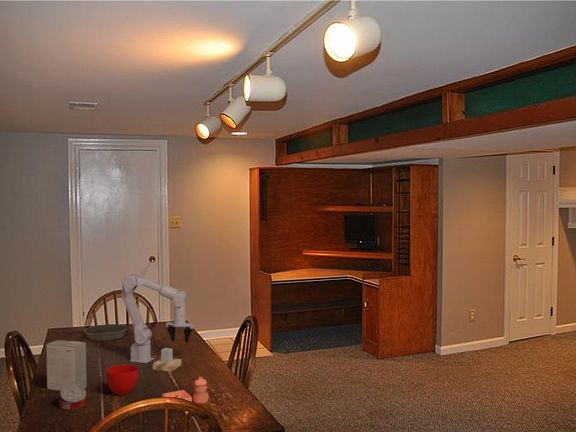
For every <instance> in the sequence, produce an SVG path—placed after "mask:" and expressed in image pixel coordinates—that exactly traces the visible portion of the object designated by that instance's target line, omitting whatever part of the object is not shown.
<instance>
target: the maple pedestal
mask: <svg viewBox="0 0 576 432" xmlns="http://www.w3.org/2000/svg"><path fill="white" fill-rule="evenodd" d="M180 367H182V359H181V358H173V361H171V362H170V363H163V362H161V358H160V359H158V360H156V361H154V362H153V363H152V370H154V371H164V372H173V371H175V370H176V369H178V368H180Z"/></svg>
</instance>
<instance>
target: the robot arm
mask: <svg viewBox="0 0 576 432" xmlns="http://www.w3.org/2000/svg"><path fill="white" fill-rule="evenodd" d="M121 285H122V286H121V291H120V292H121V298H122V301H123V303H124V306H125V309H126V311H127V313H128V316H129V318H130V321H131V323H132V325H133V334H134V342H133V343H132V344H131V346H130V360H129V361H130V362H131V363H133V362H134V363H142V364H147V363H150V362H151V361H153V360H154V359H155V357H152V354H151V353H152V351H151V350H152V349H151V348H152V345H151V343H152V342H151V338H152V337H153V336H152V335H153V333H152V331H151V329H150V328H149V327H148V325H147V324H146V323H145V322H144V320H143V317H142V314H141V312H140V310H139V307H138V304H137V301H136V299H135V297H134V292H135V290H136V288H139V287H146V288H149V289H150V290H153V291H156V292H159V295H160V296H161V297H164V298H167V299H169V300H171V301H173V304H174V305H173V321H172V322H171V321H170V322H169V321H168V322H166V323H165V328H166V331H167V332H168V334H169V336H170V339H171V342H175V341H176V328H181V329H182V328H183V332H184V343H186V344H187V343H189V339H190V336H191V333H192V331H193V329H194V326H195V325H194V324H192V323H187V322H186V299H187V293H186V291H184V290H182V289H179V288H174V287H171V285H170V284H163V285H161V284H159V283H157V282H155V281H153V280H151V279H149V278H147V277H145V276H144V275H139V274H138V273H132V274H130V275H128V276H126V277H125V278H124V280H123V281H122V282H121Z"/></svg>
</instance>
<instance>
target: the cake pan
mask: <svg viewBox="0 0 576 432" xmlns="http://www.w3.org/2000/svg"><path fill="white" fill-rule="evenodd" d="M127 329H128V326H127V325H124V324H120V323H118V324H117V323H107V324H106V323H105V324H98V325H93V326H90V327H87V328H85V329H84V330H83V332H84V334H85V336H86V338H87V340H91V341H112V340H117V339H120V338H124V336H125V335H126V334H125V333H126V331H127Z"/></svg>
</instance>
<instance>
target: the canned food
mask: <svg viewBox="0 0 576 432" xmlns="http://www.w3.org/2000/svg"><path fill="white" fill-rule="evenodd" d="M86 396H87V391H86V388H84V387H83V386H82V385H81V384H80V383H78V382H73V381H72V382H69V383H67V384H66V385H64V386H63V388H62V389H61V391H60V398H59V406H60V407H59V409H61V408H62V409H61V410H64V409H69V410H70V411H72V410H76V409H81V408H83V407H84V406H85V405H86V404H87V403H86V402H87V401H86ZM71 409H72V410H71ZM69 410H68V411H69Z"/></svg>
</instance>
